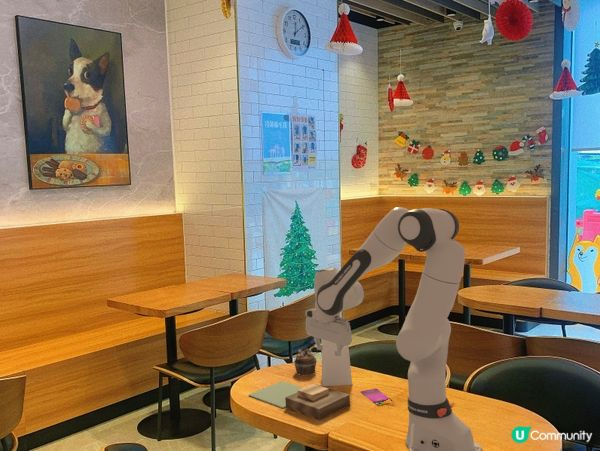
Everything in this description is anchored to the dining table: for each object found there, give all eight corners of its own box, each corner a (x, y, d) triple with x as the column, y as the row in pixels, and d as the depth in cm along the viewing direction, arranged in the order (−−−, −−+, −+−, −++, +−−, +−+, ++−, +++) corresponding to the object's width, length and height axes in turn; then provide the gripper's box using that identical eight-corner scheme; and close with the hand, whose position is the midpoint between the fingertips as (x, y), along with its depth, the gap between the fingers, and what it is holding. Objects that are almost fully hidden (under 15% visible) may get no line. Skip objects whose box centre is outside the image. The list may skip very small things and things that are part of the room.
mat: (317, 393, 217) (317, 392, 217) (283, 408, 204) (282, 407, 204) (282, 382, 231) (282, 381, 231) (248, 395, 219) (248, 394, 219)
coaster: (328, 393, 205) (328, 388, 205) (313, 400, 200) (313, 395, 200) (313, 388, 211) (312, 383, 211) (297, 395, 205) (297, 390, 205)
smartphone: (377, 408, 201) (377, 405, 201) (360, 392, 216) (359, 390, 216) (395, 404, 204) (395, 402, 204) (377, 389, 218) (377, 387, 218)
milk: (322, 386, 224) (318, 322, 222) (322, 376, 236) (318, 315, 234) (352, 384, 224) (348, 320, 222) (350, 374, 235) (347, 313, 233)
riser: (350, 405, 204) (349, 394, 203) (319, 420, 193) (318, 409, 192) (316, 394, 216) (315, 384, 215) (286, 408, 205) (285, 397, 204)
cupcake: (292, 370, 244) (290, 348, 244) (313, 367, 247) (311, 345, 246) (298, 377, 235) (297, 354, 235) (320, 374, 238) (318, 351, 237)
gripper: (355, 317, 190) (356, 357, 192) (315, 307, 206) (316, 344, 207) (342, 320, 186) (343, 361, 188) (302, 310, 202) (303, 348, 203)
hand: (328, 352), depth 197 cm, fingers open, 8 cm apart
